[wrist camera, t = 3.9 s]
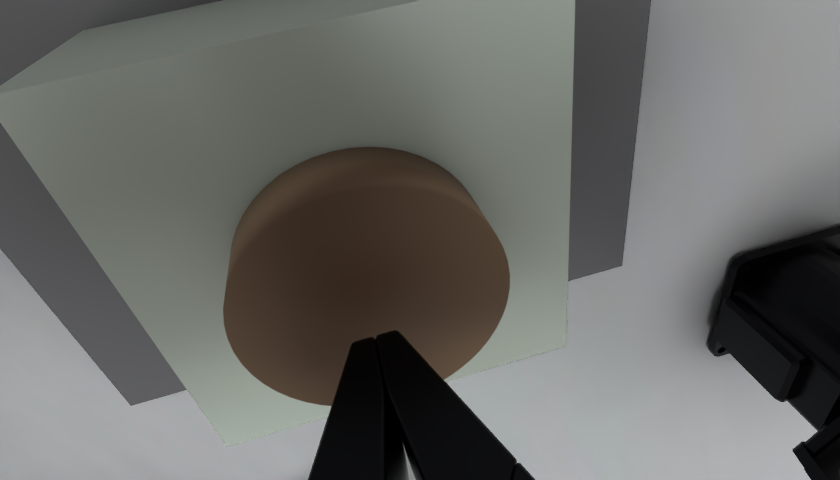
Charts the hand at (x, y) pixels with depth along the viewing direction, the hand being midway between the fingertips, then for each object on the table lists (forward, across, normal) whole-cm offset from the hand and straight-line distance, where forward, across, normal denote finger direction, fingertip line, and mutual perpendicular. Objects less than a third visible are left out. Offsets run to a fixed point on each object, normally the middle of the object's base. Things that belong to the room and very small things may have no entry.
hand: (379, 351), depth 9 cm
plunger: (+8, 0, 0) cm, 9 cm away
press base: (+8, 0, 0) cm, 8 cm away
